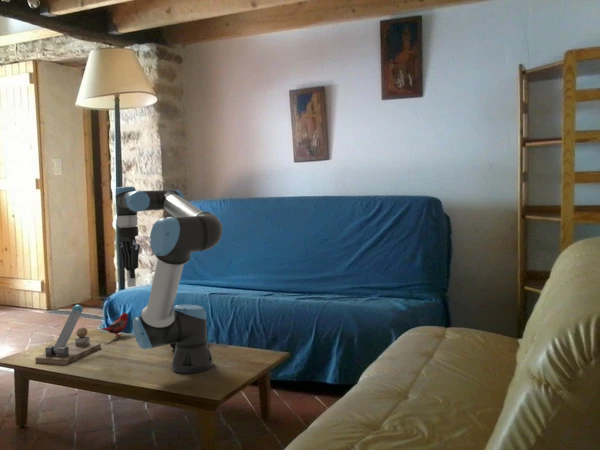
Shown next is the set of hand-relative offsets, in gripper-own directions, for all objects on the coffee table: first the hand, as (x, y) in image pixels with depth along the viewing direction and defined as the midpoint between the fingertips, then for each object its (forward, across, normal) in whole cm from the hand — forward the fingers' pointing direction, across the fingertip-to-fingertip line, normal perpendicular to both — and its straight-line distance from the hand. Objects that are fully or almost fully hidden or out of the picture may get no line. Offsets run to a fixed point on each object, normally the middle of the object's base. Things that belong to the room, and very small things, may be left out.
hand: (131, 286), depth 213 cm
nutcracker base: (+29, +27, +16) cm, 42 cm away
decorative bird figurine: (+29, +37, -9) cm, 48 cm away
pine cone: (+30, -2, -22) cm, 37 cm away
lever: (+25, +23, +22) cm, 41 cm away
